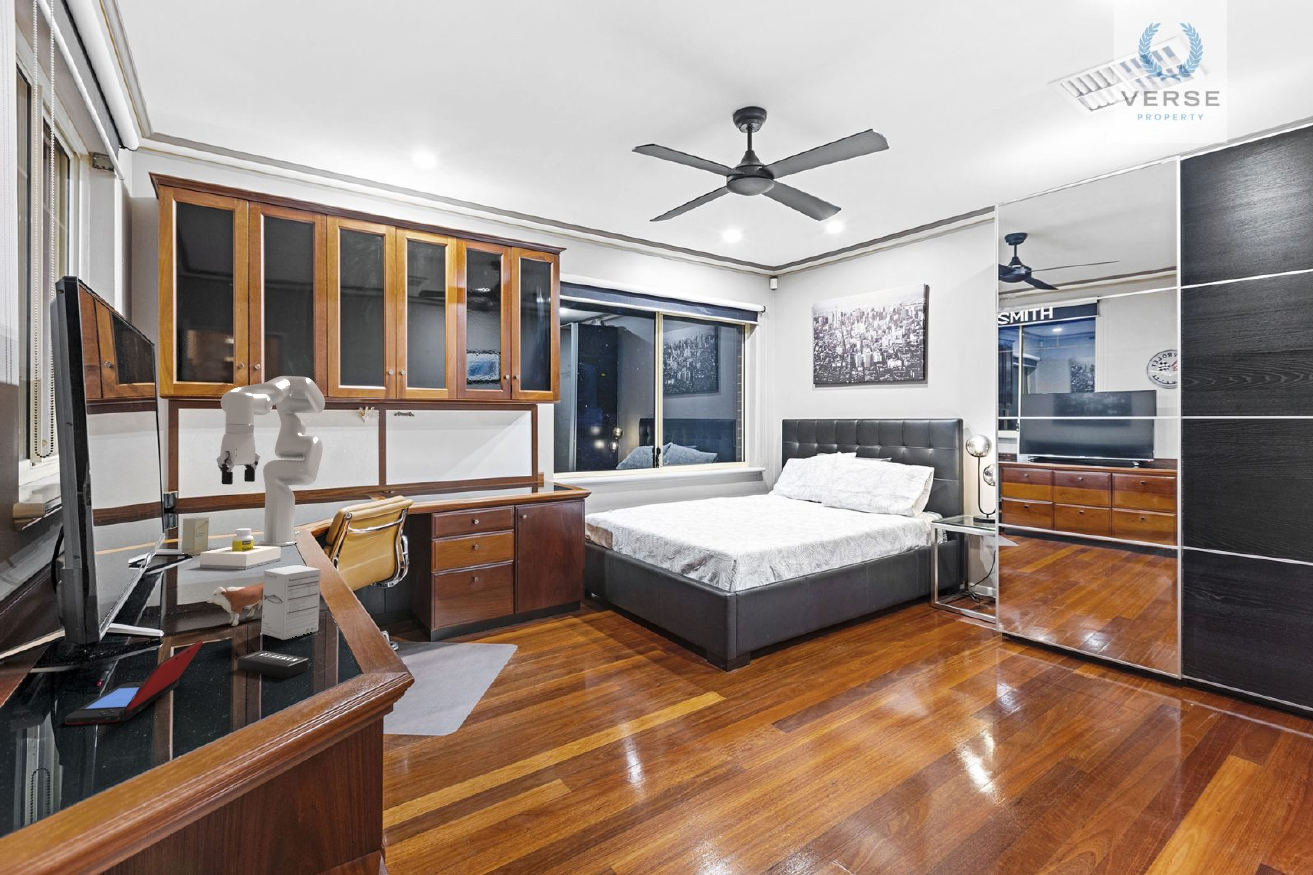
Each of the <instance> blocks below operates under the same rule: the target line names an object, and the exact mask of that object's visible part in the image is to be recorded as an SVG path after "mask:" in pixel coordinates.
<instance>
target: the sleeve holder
mask: <svg viewBox="0 0 1313 875" xmlns="http://www.w3.org/2000/svg"><path fill="white" fill-rule="evenodd" d="M281 549H282V546H260V545H253V550H250V551H246V552H236V551H232V546H226V547H223V548H218V549H212V550H208V551H206V552H201V553H200V554H199V555H200V556H199V557H200V558H199V561H200V562H199V568H200V569H223V570H224V569H226V570H239V569H238V568H250V569H252V568H251V567H254V566H257V565H259V564H263V563H270V562H274V563H276V562H275V561H278V562H280V561H281V559H282V558H281V556H282V553H281V552H282V550H281ZM279 560H280V561H279ZM270 564H271V563H270ZM254 568H255V567H254Z"/></svg>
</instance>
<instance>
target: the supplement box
mask: <svg viewBox="0 0 1313 875" xmlns="http://www.w3.org/2000/svg"><path fill="white" fill-rule="evenodd" d="M321 571H322V569H321V568H316V567H311V566H306V565H301V564H300V565H299V564H296V565H288V566H282V567H277V568H270V569H269V568H268V569H265V570H263V582H264V585H263V604H262V605H261V607H262V609H261V610H262V611H261V614H262V615H261V629H260V630H261V632H260V633H261V634H262V635H267V636H271V637H272V638H277V639H280V640H282V641H285V640H288V639H289V640H290V639H293V638H296V637H295V636H297V637H301V636H304V635H303V634H305V635H308V634H307V633H309V634H311V633H310V632H312V633H316V632H318V631H319V619H320V598H321V597H320V596H321ZM292 637H293V638H292Z"/></svg>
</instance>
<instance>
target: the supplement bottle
mask: <svg viewBox="0 0 1313 875" xmlns="http://www.w3.org/2000/svg"><path fill="white" fill-rule="evenodd" d="M251 534H252V528H249V527H247V528H246V527H243V528H236V529H235V536H234V537H233V538H232V541H231V542H232V545H231V547H232V551H236V552H246V551H250V550H253V546H254V536H252V535H251Z"/></svg>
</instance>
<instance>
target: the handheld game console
mask: <svg viewBox="0 0 1313 875" xmlns="http://www.w3.org/2000/svg"><path fill="white" fill-rule="evenodd" d="M203 643H204V640H203V639H199V640H198V641H195V642H194V643H192V644H190V645H189V646H187V647H186V648H184V649H182V650H181V651H179V652H177V653H175V654H173V655H172V656H170V657H168V658H166V659H165V660H164V661H163V660H162V662H160V663H158V664H157V665H156V666H154V667H153V669H152V670H150V672H149V673H148V675H147V676H146V678H145V679H144V680H143V681H135V682H134V681H133V682H127V683H126V682H125V683H123V684H120V685H118V686H116V687H114V688H112V689H110V690H109V691H107V692H105V693H104V694H101V695H100V696H98V697H96V698H95V699H93V700H91V701H90V702H87V703H86V704H85V705H83V706H81V707H79V708H78V709H76V710H74V711H72V712H71V713H69V714H67V715H66V716H65V717H64V720H63V721H64V724H66V725H84V724H85V725H87V724H102V723H119V722H120V723H122V722H128V721H129V720H131V719H132V718H133V717H134V716H136V715H137V714H139V713H140V712H141V711H143V710H145V709H146V708H148V706H149V704H151V703H153V702H155V701H158V700H159V699H161V698H163V697H165V695H168V694H169V693H170V692H172V691H173V690H175V689H176V688H178V687H179V686H180V677H181V676H182V674H183V673H184V671H185V670H186V669H187V667H188V666H189V664H190V663H191V661H193V658H194V657H196V654H197V653H198V651H199V650H200V649H201V647H202V645H203Z"/></svg>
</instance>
